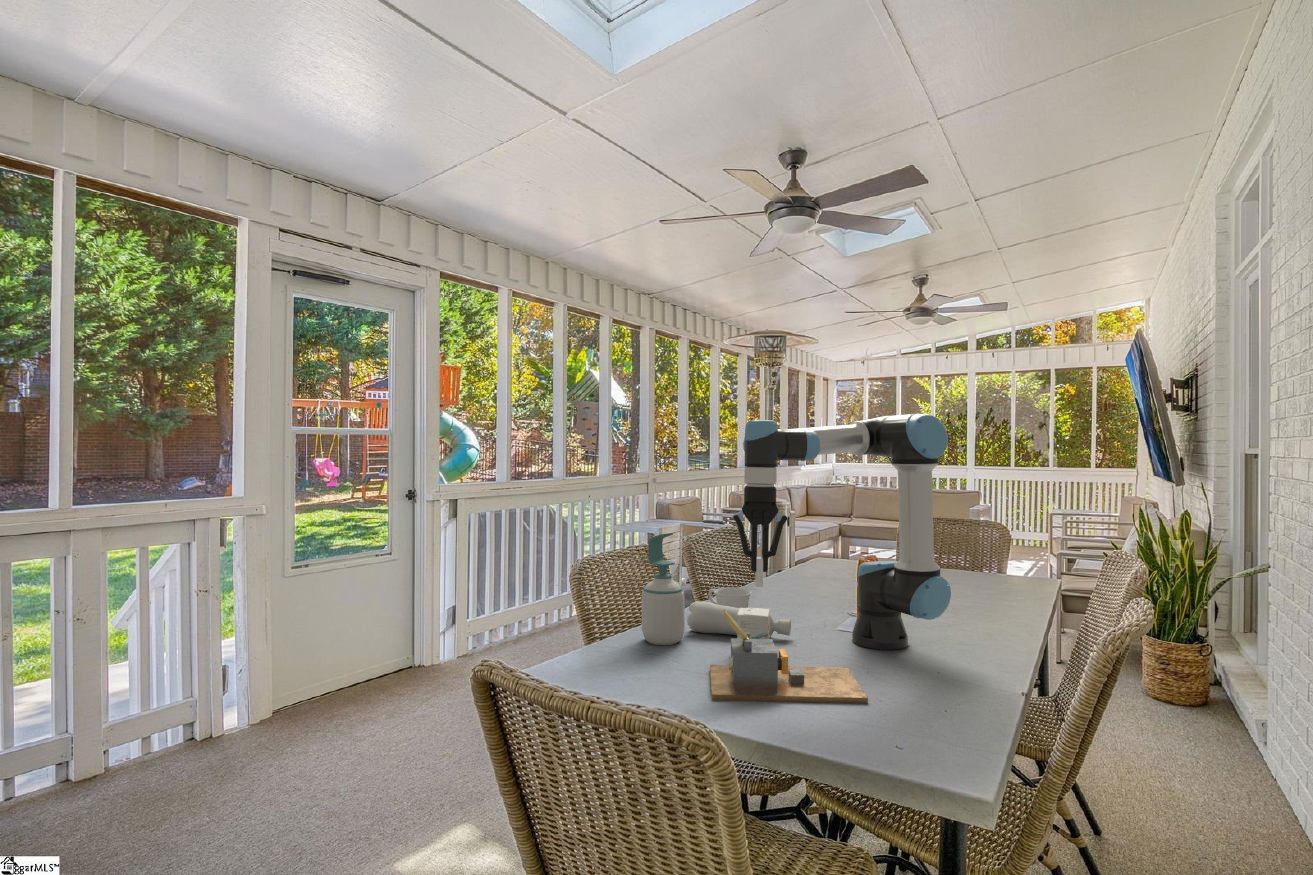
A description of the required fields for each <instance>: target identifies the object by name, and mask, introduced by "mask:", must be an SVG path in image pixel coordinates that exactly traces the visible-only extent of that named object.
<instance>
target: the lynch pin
mask: <svg viewBox="0 0 1313 875" xmlns="http://www.w3.org/2000/svg"><path fill="white" fill-rule="evenodd" d="M728 665H729V670H733V657H731V656H728ZM788 666H789V656H788V654H787V651H786V649H785V648H778V671H781V673H782V674H788Z"/></svg>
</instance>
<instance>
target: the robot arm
mask: <svg viewBox="0 0 1313 875" xmlns="http://www.w3.org/2000/svg"><path fill="white" fill-rule="evenodd" d="M778 427H779V426H778V423H777V421H776V420H774V419H773V420H771V419H752V420H748V421H746V423H745V428H744V439H743V443H742V448H743V451H744V474H743V475H744V484H746V485H745V486H744V488H743V505H742V507H741V510H739V512H737V513H734V514H732V518H733V520H734V522H735V523H736V527H737V530H738V536H739V539H740V542H741V543H740V544H741V548H742V552H743V554H744V555H745V556H748V557H750V570H751V572H753V573H754V572H755V574H754V577H755V578H754V580H755V581H754V585H755V587H756V588H763V587H764V573H768V569H769V567H768V565H769V563H768V562H769V559H770V558H771V557H775V556H776V555H777V552H778V551H777V550H778V547H779V543H780V539H781V535H782V532H783V531H782V530H783V527H784V525H785V523H786V522H787V521H788V516H787V515H785V514H782V512H780V511H779V507H778V506H777V487H776V486H775V485H776V484H777V468H778V467H777V466H778V461H793V462H795V461H797V462H798V461H799V462H800V461H801V462H805V461H808V462H809V461H813V460H814V459H817V457H818V456H819V455H820V456H821V455H822V456H823V455H833V454H845V453H851V454H853V455H856V456H863V455H864V456H865V455H866V456H876V457H877V456H879V457H885V458H891V465H892V467H893V468H895V470H896V471H897V491H898V492H897V493H898V539H899V540H898V542H899V547H898V548H899V559H898V561H897V560H875V561H865V562H862V563H860V565H859V566H858V573H857V597H858V598H857V601H858V614H857V618H856V620H855V623H854V626H853V629H852V632H851V633H852V635H851V639H852V642H853V643H854V644H856V645H857V646H861V647H864V648H869V649H875V650H880V651H881V650H884V651H892V650H893V651H894V650H902V649H905V648H906V647H907V648H908V646H909V637H908V636H909V635H908V633H907V630H906V627H905V625H904V622H903V619H902V618H903V617H902V614H905V615H907V616H911V617H913V618H914V619H915V618H916V619H923V620H927V621H928V620H934V619H937V618H939V617H941V616H942V615H943V614H944V612H945V611H946V610H947V609H948V607H949V604H950V601H951V596H952V589H951V588H952V587H951V585H950V583H948V580H947V579H945V578H944V577H942V576H941V566H940V564H938V563H937V562H936V560H935V552H934V546H935V545H934V540H935V538H934V507H933V506H934V505H933V504H934V503H933V502H934V500H933V498H934V497H933V494H934V493H933V470H934V469H936V467H937V466H938V465H939V458H940V457H941V456H943V455H944V453H945V452H946V451H945V450H946V449H947V447H948V442H949V441H948V440H949V438H948V433H947V430H946V428H945V425H944V424H943V423H942V422H941V421H940V419H939V418H937V417H936V416H935V415H932V414H928V413H909V414H897V415H893V414H892V415H884V416H879V417H873V418H870V419H863V420H854V421H852V422H850V423H849V424H846V425H832V426H829V425H827V426H815V427H804V428H803V427H801V428H787V429H780V428H778ZM744 518H746V519H747V521H748V523H749V524H750V549H749V545H748V541H747V537H746V532H745V527H744V524H743V521H744ZM774 518H775V521H777V522H776V525H775V528H774V532H773V536H772V541H771V545H770V548H769V528H770V526H769V525H770V524H771V523H772V522H773V520H774ZM759 525H761V556H758V528H759Z"/></svg>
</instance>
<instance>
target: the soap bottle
mask: <svg viewBox="0 0 1313 875" xmlns="http://www.w3.org/2000/svg"><path fill="white" fill-rule="evenodd" d="M672 535H674V533H673V532H669V533H660V534H657V535H655V536H651V537H650V538H648V543H647V544H648V546H647V547H648V548H647V550H648V551H647V553H648V554H647V555H648V556H647V557H648V558H647V559H648V562H649V564H650V565H654V566H656V569H658V570H659V573H655V574H654V575H653V577H654V578H653V579H652V580H651V581H650V582H648V583H647V584H646V585H644V586H643V587H642V589H643V590H642V591H641V632H642V635H643V637H644V639H645V641H646V642H648V643H649V644H652V645H655V646H671V645H672V646H673V645H675V644H677V643H678V642H680V641H681V639H682V638H683V636H684V632H685V626H686V625H685V622H686V621H685V620H686V618H685V591H684V588H683V586H682V585H680V584H679V583H678V582H677V581H675V580H674V579H673V577H672V576H673V575H672V574H671V573H668V572H667V570H668V569H670V566H673V565H675V564H676V562H674V561H670V560H665V559H664V557H663V540H664V539H665V538H667V537H669V536H672Z"/></svg>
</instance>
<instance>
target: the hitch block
mask: <svg viewBox="0 0 1313 875" xmlns="http://www.w3.org/2000/svg"><path fill="white" fill-rule="evenodd" d="M745 634H746V635H748V637H749V632H745ZM730 657H733V670H729V664H726V665H725V664H709V675H710V689H711V690H710V691H711V701H735V702H736V701H739V702H740V701H743V702H744V701H748V702H783V703H785V702H786V703H787V702H791V703H792V702H793V703H797V702H798V703H835V704H837V703H838V704H868V703H869V697H868V696H867V695H866V692H865V691H864V689H862V687H861V686H860V684H859V682H858V681H857V680H856V678H855V677H854V675H853V674H852V672H851V671H850V669H849V668H848V667H845V666H844V667H840V666H838V667H837V666H834V667H833V666H797V665H796V666H795V665H793V666H791V665H790V666H789V665H788V674H782V673H781V671H778V658H779V652H778V651H777V649H776V645H775V644H774V641H773V638H769V639H749V640H744V641H743V640H742V639H737V638H730Z"/></svg>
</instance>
